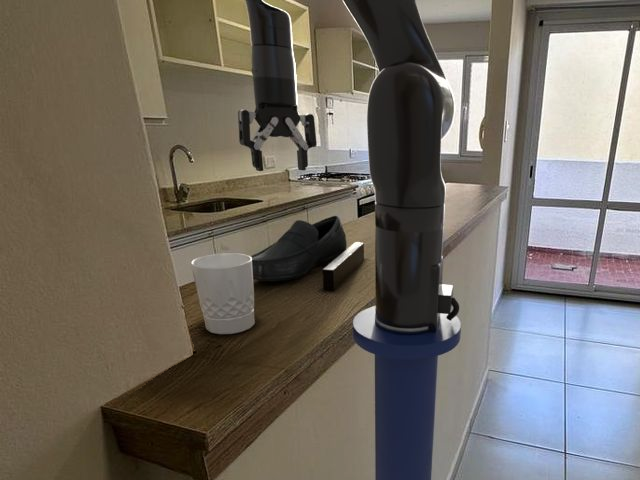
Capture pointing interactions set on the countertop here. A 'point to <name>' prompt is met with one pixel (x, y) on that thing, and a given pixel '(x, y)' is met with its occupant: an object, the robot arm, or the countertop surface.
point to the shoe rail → (342, 266)
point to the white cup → (225, 291)
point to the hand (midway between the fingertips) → (281, 170)
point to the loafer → (300, 250)
